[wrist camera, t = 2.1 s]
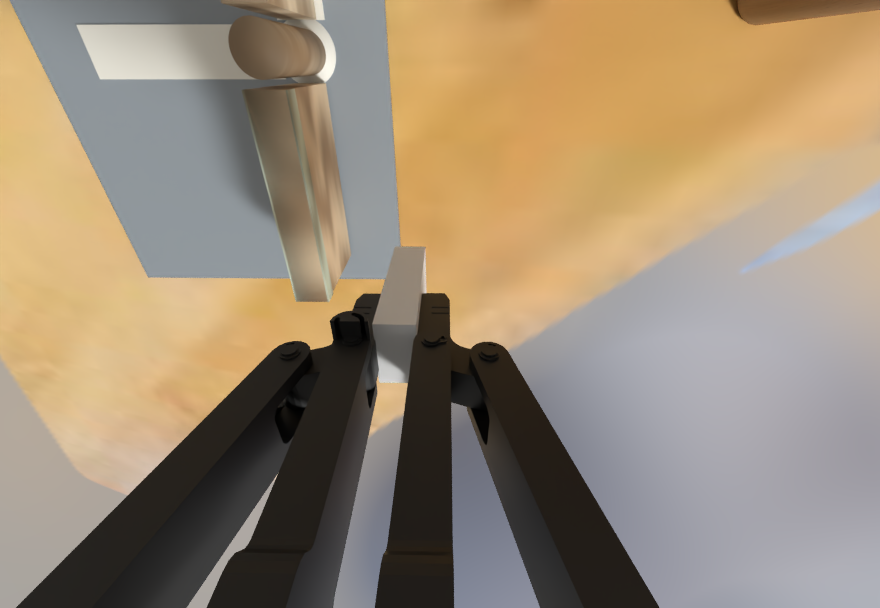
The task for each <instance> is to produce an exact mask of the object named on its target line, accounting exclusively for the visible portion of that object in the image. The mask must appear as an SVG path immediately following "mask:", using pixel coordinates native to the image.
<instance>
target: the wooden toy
mask: <svg viewBox="0 0 880 608" xmlns="http://www.w3.org/2000/svg"><path fill="white" fill-rule="evenodd" d="M875 10H880V0H738V11H739V13H740V16H741V17H742V19H744V20H745V21H746V22H747V23H749V24H753V25H762V24H770V23H778V22H786V21H794V20H802V19H810V18H818V17H826V16H835V15H843V14H851V13H859V12H867V11H875Z"/></svg>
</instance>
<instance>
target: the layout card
mask: <svg viewBox="0 0 880 608" xmlns="http://www.w3.org/2000/svg"><path fill="white" fill-rule="evenodd" d="M10 2H11V4H12V6H13V8H14V10H15V12H16V14H17V16H18V18H19V20H20V22H21V24H22V26H23V28H24V30H25V32H26V34H27V36H28V38H29V40H30V42H31V44H32V46H33V48H34V50H35V52H36V54H37V56H38V58H39V60H40V62H41V64H42V66H43V68H44V70H45V72H46V74H47V76H48V78H49V80H50V82H51V84H52V86H53V88H54V90H55V92H56V94H57V96H58V98H59V100H60V102H61V104H62V106H63V108H64V110H65V112H66V114H67V116H68V118H69V120H70V122H71V124H72V126H73V128H74V130H75V132H76V134H77V136H78V138H79V140H80V142H81V144H82V146H83V148H84V150H85V152H86V154H87V156H88V158H89V160H90V162H91V164H92V166H93V168H94V170H95V172H96V174H97V176H98V178H99V180H100V182H101V184H102V186H103V188H104V190H105V192H106V194H107V196H108V198H109V200H110V202H111V204H112V206H113V208H114V210H115V212H116V214H117V216H118V218H119V220H120V222H121V224H122V226H123V228H124V230H125V232H126V234H127V236H128V238H129V240H130V242H131V244H132V246H133V248H134V250H135V252H136V254H137V256H138V258H139V260H140V262H141V264H142V266H143V268H144V270H145V272H146V274H147V276H148V277H170V278H290V276H289V273H288V269H287V265H286V261H285V257H284V253H283V249H282V245H281V242H280V238H279V234H278V230H277V226H276V222H275V218H274V214H273V211H272V207H271V203H270V199H269V195H268V191H267V187H266V183H265V180H264V176H263V172H262V168H261V164H260V160H259V156H258V152H257V149H256V145H255V141H254V137H253V133H252V129H251V125H250V121H249V118H248V114H247V110H246V106H245V102H244V98H243V94H242V90H244V89H254V88H261V87H269V86H277V85H284V84H292V83H326V87H327V94H328V100H329V107H330V114H331V121H332V128H333V134H334V141H335V148H336V155H337V162H338V168H339V175H340V182H341V189H342V196H343V202H344V209H345V216H346V223H347V230H348V236H349V243H350V250H351V256H350V258H349V260H348V262H347V264H346V266H345V268H344V270H343V272H342V274H341V276H340V278H339V279H386V275H387V272H388V269H389V265H390V262H391V258H392V255H393V252H394V248H395V247H401V244H400V229H399V213H398V198H397V182H396V167H395V151H394V136H393V120H392V105H391V89H390V74H389V58H388V43H387V28H386V12H385V0H314V5H315V12H316V19H317V20H282V19H278V18H275V17H271V16H267V15H263V14H260V13H256V12H252V11H248V10H245V9H241V8H237V7H233V6H230V5H226V4H222V3H221V0H10ZM247 15H250V16H256V17H260V18H264V19H268V20H272V21H276V22H280V23H284V24H288V25H292V26H296V27H300V28H305V29H308V30H311V31H312V32H314V33H315V34H316V35H317V36H318V37H319V38H320V40H321V41H322V43H323V45H324V48H325V52H326V61H325V65H324V67H323V69H322V70H321V71H320V72H319V73H318V74H316V75H312V76H301V77H290V78H279V79H268V80H259V79H255V78H253V77H251V76H249V75H247V74H246V73H245V72H243V71H242V70H241V69H240V68H239V66H238V65H237V64H236V62H235V61H234V59H233V57H232V54H231V52H230V48H229V41H228V36H229V31H230V28H231V26H232V24H233V22H234V21H235V20H236V19H238V18H240V17H242V16H247Z"/></svg>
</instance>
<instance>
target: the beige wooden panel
mask: <svg viewBox="0 0 880 608" xmlns="http://www.w3.org/2000/svg"><path fill="white" fill-rule="evenodd" d="M221 3H222V4H226V5H230V6H233V7H237V8H241V9H245V10H248V11H252V12H256V13H260V14H263V15H267V16H271V17H275V18H278V19H282V20H317V19H316V12H315V5H314V0H221ZM228 41H229V48H230V52H231V54H232V57H233V59H234V61H235V62H236V64H237V65H238V66H239V68H240V69H241V70H242V71H243V72H245V73H246V74H247V75H249V76H251V77H253V78H255V79H259V80H268V79H279V78H290V77H301V76H312V75H316V74H318V73H319V72H320V71H321V70H322V69H323V67H324V65H325V61H326V52H325V48H324V45H323V43H322V41H321V40H320V38H319V37H318V36H317V35H316V34H315V33H314V32H312V31H311V30H308V29H305V28H300V27H296V26H292V25H288V24H284V23H280V22H276V21H272V20H268V19H264V18H260V17H256V16H250V15H247V16H242V17H240V18H238V19H236V20H235V21H234V22H233V24H232V26H231V28H230V31H229V36H228Z"/></svg>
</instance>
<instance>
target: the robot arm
mask: <svg viewBox="0 0 880 608" xmlns="http://www.w3.org/2000/svg"><path fill="white" fill-rule="evenodd" d="M330 324H331V329H332V334H333V339H334V340H333V343H332V345H329V346H327V347H323V348H318V349H314V350H310V347H309V346H308V344H307V343H304V342H301V341H292V342H287V343H284V344H282V345H279V346H278V347H277V348H275V349H274V350H273V351H272V352H271V353H270V354H269V355H268V356H267V357H266V358H265V359H264V360H263V361H262V362H261V363H260V364H259V365H258V366H257V367H256V368H255V369H254V370H253V371H252V372H251V373H250V374H249V375H248V376H247V377H246V378H245V379H244V380H243V381H242V382H241V383H240V384H239V385H238V386H237V387H236V388H235V389H234V390H233V391H232V392H231V393H230V394H229V395H228V396H227V397H226V398H225V399H224V400H223V401H222V402H221V403H220V404H219V405H218V406H217V407H216V408H215V409H214V410H213V411H212V412H211V413H210V414H209V415H208V416H207V417H206V418H205V419H204V420H203V421H202V422H201V423H200V424H199V425H198V426H197V427H196V428H195V429H194V430H193V431H192V432H191V433H190V434H189V435H188V436H187V437H186V438H185V439H184V440H183V441H182V442H181V443H180V444H179V445H178V446H177V447H176V448H175V449H174V450H173V451H172V452H171V453H170V454H169V455H168V456H167V457H166V458H165V459H164V460H163V461H162V462H161V463H160V464H159V465H158V466H157V467H156V468H155V469H154V470H153V471H152V472H151V473H150V474H149V475H148V476H147V477H146V478H145V479H144V480H143V481H142V482H141V483H140V484H139V485H138V486H137V487H136V488H135V489H134V490H133V491H132V492H131V493H130V494H129V495H128V496H127V497H126V498H125V499H124V500H123V501H122V502H121V503H120V504H119V505H118V506H117V507H116V508H115V509H114V510H113V511H112V512H111V513H110V514H109V515H108V516H107V517H106V518H105V519H104V520H103V521H102V522H101V523H100V524H99V525H98V526H97V527H96V528H95V529H94V530H93V531H92V532H91V533H90V534H89V535H88V536H87V537H86V538H85V539H84V540H83V541H82V542H81V543H80V544H79V545H78V546H77V547H76V548H75V549H74V550H73V551H72V552H71V553H70V554H69V555H68V556H67V557H66V558H65V559H64V560H63V561H62V562H61V563H60V564H59V565H58V566H57V567H56V568H55V569H54V570H53V571H52V572H51V573H50V574H49V575H48V576H47V577H46V578H45V579H44V580H43V581H42V582H41V583H40V584H39V585H38V586H37V587H36V588H35V589H34V590H33V591H32V592H31V593H30V594H29V595H28V596H27V597H26V598H25V599H24V600H23V601H22V602H21V603H20V604H19V605H18V606H17V607H16V608H186V607H187V606H188V605H189V603H190V602H191V600H192V599H193V597H194V596H195V594H196V593H197V591H198V590H199V588H200V587H201V586H202V584H203V582H204V581H205V580H206V578H207V576H208V575H209V574H210V572H211V571H212V569H213V568H214V566H215V565H216V563H217V562H218V561H219V559H220V557H221V556H222V555H223V553H224V552H225V550H226V549H227V547H228V546H229V544H230V543H231V541H232V540H233V538H234V537H235V536H236V534H237V532H238V531H239V530H240V528H241V527H242V525H243V524H244V522H245V521H246V519H247V518H248V516H249V515H250V513H251V512H252V510H253V509H254V508H255V506H256V505H257V503H258V502H259V500H260V499H261V497H262V496H263V494H264V493H265V491H266V490H267V488H268V487H269V486H270V484H271V483H272V481H273V480H274V478H275V477H276V475H277V474H278V475H277V478H276V480H275V483H274V485H273V487H272V490H271V492H270V495H269V497H268V499H267V502H266V504H265V507H264V509H263V512H262V514H261V516H260V519H259V521H258V524H257V526H256V528H255V531H254V533H253V536H252V538H251V540H250V542H249V544H248V545H247V546H246V548H245V549H243V550H241V551H239V552H236V553H235V554H234V555H233V556H232V557H231V559H230V560H229V561H228V563H227V565H226V567H225V569H224V571H223V572H222V575H221V577H220V579H219V581H218V583H217V586H216V588H215V590H214V592H213V595H212V597H211V599H210V602H209V604H208V606H207V608H333V604H334V596H335V591H336V586H337V581H338V577H339V572H340V567H341V563H342V558H343V553H344V548H345V544H346V539H347V534H348V529H349V525H350V520H351V515H352V511H353V506H354V501H355V496H356V491H357V487H358V482H359V477H360V472H361V467H362V463H363V458H364V453H365V449H366V444H367V439H368V435H369V430H370V425H371V420H372V416H373V411H374V406H375V401H376V397H377V384H376V381H377V377H378V376H379V383H408V387H407V395H406V403H405V411H404V418H403V426H402V434H401V442H400V451H399V459H398V466H397V474H396V481H395V490H394V497H393V505H392V513H391V521H390V529H389V537H388V544H387V549H386V551H385V553H384V554H383V558H382V562H381V568H380V574H379V581H378V588H377V596H376V603H375V608H454V573H453V572H454V568H453V545H452V544H453V540H452V539H453V537H452V448H451V447H452V446H451V445H452V442H451V402H453V403H456V404H460V405H463V406H466V407H467V411H468V414H469V416H470V419H471V422H472V424H473V427H474V430H475V432H476V435H477V438H478V441H479V443H480V446H481V449H482V452H483V454H484V457H485V459H486V462H487V465H488V468H489V470H490V473H491V476H492V478H493V481H494V484H495V486H496V489H497V492H498V495H499V498H500V500H501V503H502V506H503V508H504V511H505V514H506V516H507V519H508V522H509V525H510V527H511V530H512V532H513V535H514V538H515V541H516V543H517V546H518V549H519V552H520V554H521V557H522V560H523V562H524V565H525V568H526V571H527V573H528V576H529V579H530V581H531V584H532V587H533V589H534V592H535V595H536V598H537V600H538V603H539V606H540V608H659V606H658V604H657V603H656V601H655V599H654V598H653V596H652V594H651V592H650V591H649V589H648V587H647V586H646V584H645V582H644V581H643V579H642V577H641V576H640V574H639V572H638V571H637V569H636V567H635V566H634V564H633V562H632V560H631V559H630V557H629V555H628V554H627V552H626V550H625V549H624V547H623V545H622V544H621V542H620V540H619V538H618V537H617V535H616V533H615V532H614V530H613V528H612V527H611V525H610V523H609V522H608V520H607V519H606V517H605V515H604V513H603V512H602V510H601V508H600V506H599V505H598V503H597V501H596V500H595V498H594V496H593V495H592V493H591V491H590V489H589V488H588V486H587V484H586V483H585V481H584V479H583V478H582V476H581V474H580V473H579V471H578V469H577V467H576V466H575V464H574V463H573V461H572V459H571V457H570V456H569V454H568V452H567V451H566V449H565V447H564V446H563V444H562V442H561V440H560V439H559V437H558V435H557V434H556V432H555V430H554V429H553V427H552V425H551V424H550V422H549V420H548V419H547V417H546V415H545V413H544V412H543V410H542V408H541V407H540V405H539V403H538V402H537V400H536V398H535V397H534V395H533V393H532V391H531V390H530V388H529V386H528V385H527V383H526V381H525V380H524V378H523V376H522V375H521V373H520V371H519V370H518V368H517V366H516V364H515V363H514V361H513V359H512V358H511V356H510V354H509V353H508V351H507V350H506V349H505V348H504V347H503V346H501V345H499V344H497V343H493V342H482V343H478V344H476V345H474V346H473V347H472V348H471V349H467V348H464V347H461V346H459V345H457V344H456V343H454V342H453V341H452V339H451V337H450V301H449V299H448V297H447V296H446V295H445V293H426V253H425V247H395V248H394V252H393V255H392V258H391V262H390V265H389V269H388V272H387V275H386V279H385V282H384V286H383V289H382V293H381V294H363V295H362V296H361V297H359V298H358V299H357V300H356V303H355V305H354V308H353V310H352V311H346V312H342V313H339V314H337V315H336V316H334V317H333V318H332V319H331V320H330ZM278 472H279V473H278Z"/></svg>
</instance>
